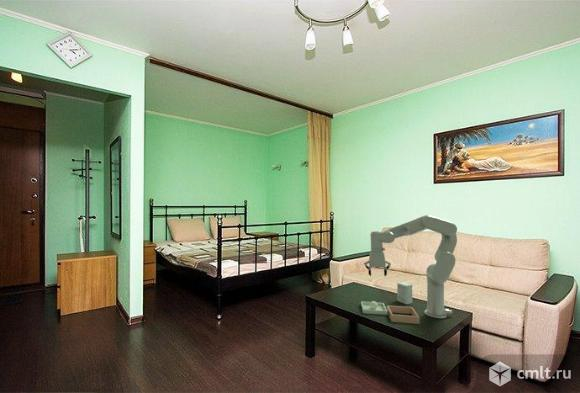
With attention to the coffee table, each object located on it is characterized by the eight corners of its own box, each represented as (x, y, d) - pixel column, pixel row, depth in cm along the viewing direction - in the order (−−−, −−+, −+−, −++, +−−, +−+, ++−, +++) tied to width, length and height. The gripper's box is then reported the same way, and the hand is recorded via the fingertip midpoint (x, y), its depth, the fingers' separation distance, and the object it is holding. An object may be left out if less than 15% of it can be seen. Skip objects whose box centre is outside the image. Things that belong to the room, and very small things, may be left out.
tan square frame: (412, 313, 177) (412, 307, 178) (419, 323, 162) (419, 317, 162) (386, 311, 180) (386, 305, 180) (391, 321, 165) (391, 314, 165)
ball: (377, 307, 185) (376, 300, 185) (378, 310, 180) (377, 302, 180) (369, 307, 185) (369, 299, 186) (370, 310, 181) (369, 302, 181)
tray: (383, 306, 189) (383, 302, 189) (387, 315, 174) (387, 311, 174) (361, 304, 191) (361, 301, 191) (362, 313, 176) (363, 309, 177)
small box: (412, 303, 196) (412, 284, 197) (406, 304, 193) (406, 285, 194) (402, 299, 203) (402, 281, 204) (397, 301, 200) (397, 282, 201)
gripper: (389, 249, 188) (390, 274, 188) (363, 249, 191) (363, 274, 190) (391, 251, 181) (392, 277, 180) (364, 251, 183) (365, 277, 183)
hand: (377, 275), depth 185 cm, fingers open, 9 cm apart
